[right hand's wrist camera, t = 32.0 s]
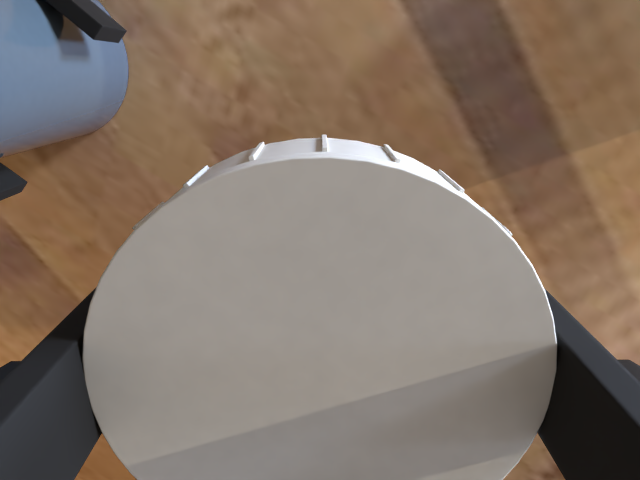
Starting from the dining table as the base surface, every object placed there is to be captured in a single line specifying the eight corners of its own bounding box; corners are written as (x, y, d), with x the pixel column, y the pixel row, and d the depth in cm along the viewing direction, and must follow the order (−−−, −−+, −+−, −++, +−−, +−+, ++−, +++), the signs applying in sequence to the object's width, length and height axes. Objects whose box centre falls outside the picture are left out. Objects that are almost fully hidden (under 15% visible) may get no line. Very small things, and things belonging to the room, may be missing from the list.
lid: (399, 516, 15) (413, 596, 13) (80, 409, 13) (31, 479, 11) (597, 243, 12) (665, 286, 9) (198, 55, 10) (163, 51, 8)
